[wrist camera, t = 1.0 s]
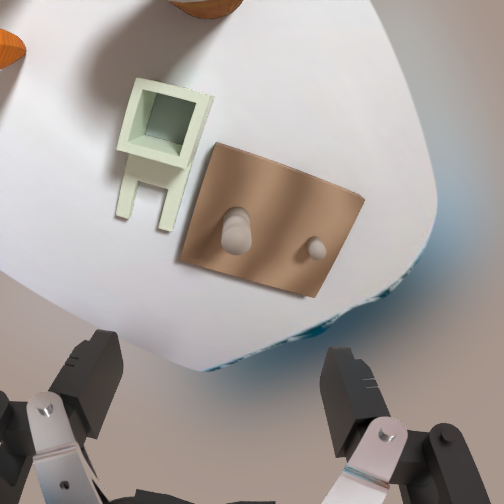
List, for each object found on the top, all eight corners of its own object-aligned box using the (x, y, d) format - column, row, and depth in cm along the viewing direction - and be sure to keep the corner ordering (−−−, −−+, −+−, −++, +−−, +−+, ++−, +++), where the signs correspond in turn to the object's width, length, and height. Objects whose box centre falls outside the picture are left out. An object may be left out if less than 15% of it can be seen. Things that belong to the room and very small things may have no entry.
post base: (181, 253, 33) (171, 288, 27) (216, 141, 28) (210, 154, 22) (312, 290, 36) (324, 327, 30) (360, 195, 31) (386, 219, 25)
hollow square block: (152, 80, 25) (136, 77, 20) (214, 96, 26) (210, 96, 21) (119, 211, 30) (101, 231, 26) (173, 227, 31) (163, 250, 27)
